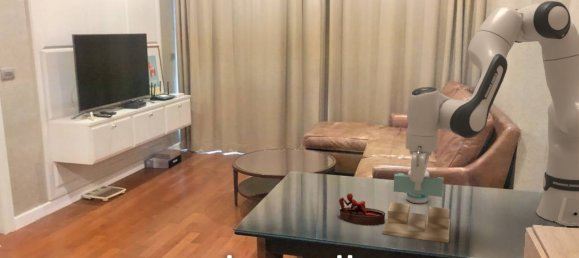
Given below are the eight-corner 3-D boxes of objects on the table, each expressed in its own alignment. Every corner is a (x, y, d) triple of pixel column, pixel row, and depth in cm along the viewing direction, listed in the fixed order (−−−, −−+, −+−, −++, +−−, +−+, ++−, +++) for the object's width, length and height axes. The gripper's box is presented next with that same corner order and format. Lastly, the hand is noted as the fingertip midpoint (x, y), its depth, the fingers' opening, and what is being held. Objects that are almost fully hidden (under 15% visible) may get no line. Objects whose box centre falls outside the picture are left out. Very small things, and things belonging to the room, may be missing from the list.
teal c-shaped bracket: (443, 185, 153) (444, 170, 152) (441, 196, 142) (443, 180, 141) (398, 180, 157) (399, 165, 156) (393, 191, 146) (394, 175, 145)
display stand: (449, 222, 154) (450, 207, 153) (448, 243, 139) (449, 226, 138) (389, 215, 160) (390, 200, 159) (382, 234, 146) (383, 218, 145)
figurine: (337, 225, 153) (337, 192, 155) (339, 226, 162) (339, 195, 165) (385, 226, 150) (384, 192, 153) (385, 227, 159) (384, 195, 162)
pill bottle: (430, 204, 170) (432, 167, 168) (409, 204, 171) (411, 167, 168) (424, 197, 178) (426, 161, 175) (404, 197, 178) (406, 161, 175)
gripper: (430, 152, 131) (426, 200, 134) (434, 136, 150) (431, 179, 153) (406, 150, 133) (403, 197, 136) (413, 135, 152) (410, 177, 155)
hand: (418, 187), depth 144 cm, fingers closed on teal c-shaped bracket
